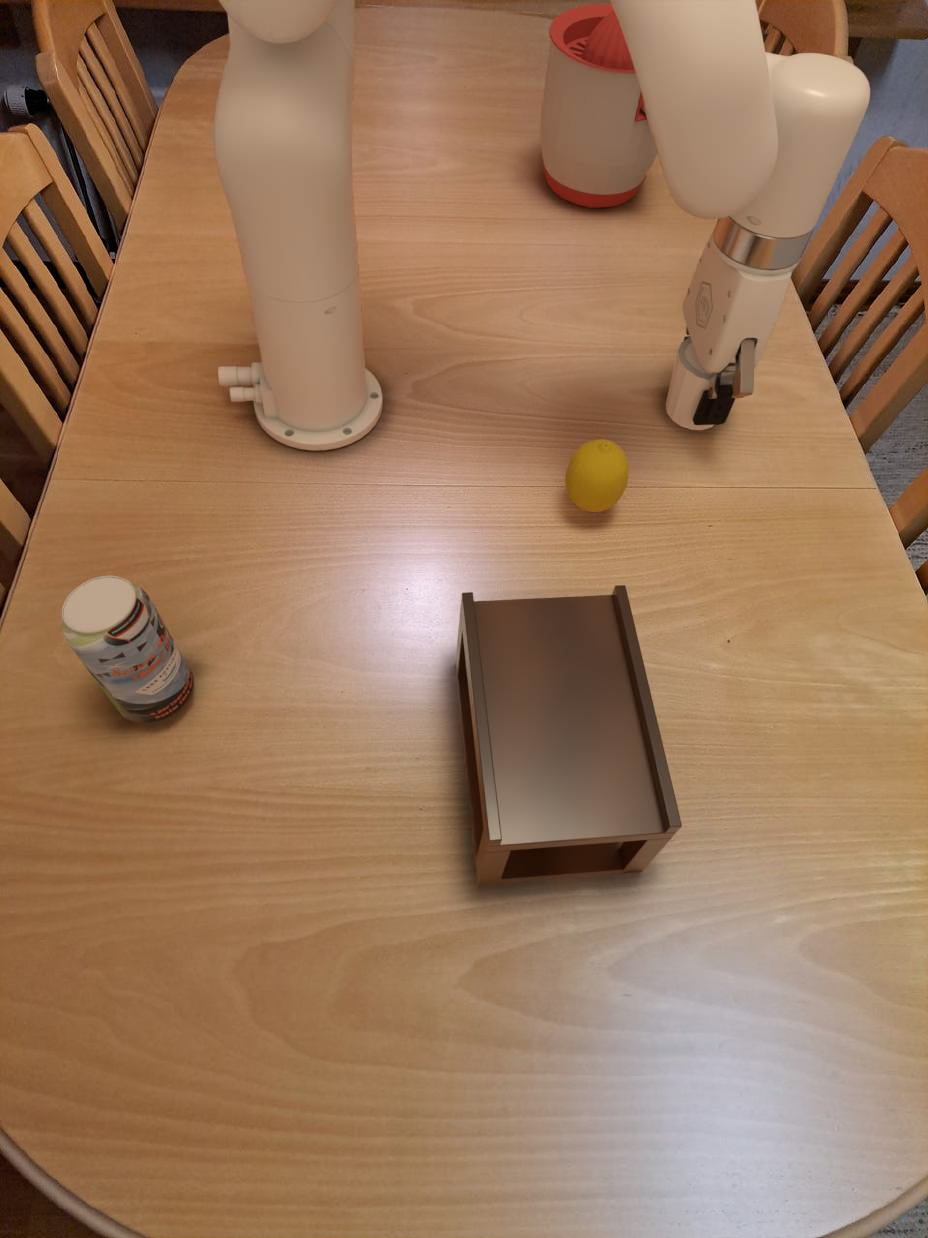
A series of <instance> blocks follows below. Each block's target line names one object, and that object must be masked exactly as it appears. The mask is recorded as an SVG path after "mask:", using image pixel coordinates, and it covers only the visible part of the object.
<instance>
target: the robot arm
mask: <svg viewBox="0 0 928 1238" xmlns="http://www.w3.org/2000/svg"><path fill="white" fill-rule="evenodd" d="M218 2H219V4H220V5H221V7H222V8H223V9H224V11H225V13H226V16H227V24H228V39H229V47H228V48H229V49H228V54H227V58H226V63H225V65H224V67H223V71H222V75H221V81H220V85H219V89H218V94H217V98H216V103H215V110H214V117H213V118H214V119H213V151H214V158H215V164H216V168H217V172H218V176H219V179H220V183H221V186H222V190H223V192H224V196H225V198H226V201H227V204H228V207H229V212H230V215H231V218H232V221H233V222H232V223H233V225H234V230H235V235H236V237H237V238H236V239H237V244H238V248H239V255H240V259H241V265H242V269H243V273H244V276H245V281H246V285H247V286H246V287H247V292H248V297H249V298H248V299H249V303H250V307H251V313H252V317H253V323H254V329H255V333H256V339H257V343H258V350H259V354H260V362H259V361H258V362H251V366H238V365H222V366H221V365H220V366H218V367H217V368H218V369H217V376H218V384H219V387H220V388H226V387H227V388H228V387H229V397H230V401H231V403H239V402H240V403H241V402H242V403H243V402H244V403H245V402H252V401H253V407H254V413H255V416H256V420H257V422H258V424H259V425H260V427H261V429H262V430H264V432H266V434H267V435H268V436H270V438H272V439H274V440H275V441H277V442H278V443H281V444H283V445H285V446H288V447H291V448H294V449H298V450H305V451H328V450H334V449H335V450H336V449H340V448H343V447H346V446H348V445H351V444H353V443H355V442H357V441H359V440H361V439H362V438H363V437H365V436H366V435H367V434H369V433H370V432H371V431H372V429H373V428H374V427H375V426H376V425H377V424H378V422H379V420H380V418H381V415H382V412H383V400H384V399H383V391H382V388H381V385H380V383H379V381H378V379H377V378H376V377H375V375H374V373H372V371H370V370H369V369H368V368H367V367H366V360H365V343H364V342H365V341H364V327H363V310H362V293H361V276H360V274H361V273H360V264H359V249H358V248H359V247H358V234H357V233H358V232H357V222H356V220H357V219H356V209H355V208H356V207H355V198H354V197H355V196H354V184H353V183H354V182H353V179H354V178H353V125H354V123H353V122H354V93H355V92H354V91H355V90H354V89H355V71H356V70H355V67H356V66H355V65H356V64H355V61H356V60H355V59H356V58H355V51H356V50H355V30H356V29H355V28H356V27H355V25H356V24H355V22H356V19H355V18H356V14H355V13H356V0H218ZM609 2H610V4H612V7H613V9H614V11H615V14H616V16H617V19H618V21H619V24H620V26H621V29H622V32H623V34H624V37H625V40H626V43H627V46H628V49H629V52H630V55H631V58H632V62H633V65H634V68H635V72H636V75H637V78H638V82H639V85H640V88H641V92H642V95H643V99H644V102H645V111H646V117H647V120H648V124H649V127H650V131H651V134H652V138H653V141H654V145H655V147H656V150H657V155H658V159H659V162H660V167H661V169H662V173H663V177H664V181H665V185H666V188H667V190H668V193H669V195H670V197H671V198H672V199H673V201H674V202H675V203H676V205H677V206H678V207H679V208H681V210H683V211H684V212H686V213H688V214H690V215H692V216H693V217H697V218H700V219H703V220H717V222H716V224H715V227H714V228H713V230H712V232H711V234H710V236H709V238H708V240H707V242H706V244H705V247H704V249H703V250H702V253H701V255H700V258H699V260H698V262H697V265H696V268H695V270H694V274H693V275H692V277H691V280H690V283H689V286H688V289H687V292H686V294H685V297H684V300H683V303H682V314H683V319H684V322H685V326H686V327H685V332H686V336H684V338H683V341H684V340H686V339H687V338H688V337H691V340H692V343H693V346H694V349H695V351H696V354H697V357H698V359H699V362H700V364H701V366H702V367H703V369H704V370H705V371H706V372H708V373H711V377H710V383H709V390H705V391H703V394H702V396H701V399H700V402H699V404H698V407H697V409H696V412H695V414H694V417H693V422H694V425H714V426H717V425H718V426H719V425H720V426H721V425H723V424H725V423H726V422H727V419H728V417H729V415H730V413H731V410H732V408H733V406H734V403H735V401H736V399H742V398H745V397H750V396H752V395H753V393H754V387H755V385H754V384H755V370H756V367H757V366H758V364H759V363H760V361H761V359H762V358H763V355H764V353H765V351H766V348H767V347H768V344H769V342H770V340H771V338H772V335H773V333H774V329H775V327H776V325H777V322H778V320H779V319H778V318H779V316H780V315H781V310H782V307H783V304H784V301H785V299H786V295H787V291H788V289H789V285H790V281H791V277H792V273H793V272H792V270H795V268H796V267H797V266H798V265H799V264H800V262H801V259H802V257H803V254H804V252H805V250H806V248H807V245H808V243H809V241H810V239H811V237H812V234H813V233H814V231H815V228H816V225H817V223H818V221H819V219H820V216H821V215H822V212H823V210H824V207H825V205H826V203H827V201H828V199H829V196H830V194H831V192H832V190H833V188H834V185H835V183H836V180H837V179H838V176H839V174H840V172H841V169H842V167H843V165H844V163H845V160H846V158H847V156H848V154H849V151H850V149H851V147H852V145H853V142H854V140H855V138H856V136H857V133H858V131H859V129H860V126H861V124H862V122H863V120H864V117H865V115H866V113H867V110H868V107H869V104H870V100H871V99H870V98H871V86H870V82H869V80H868V78H867V76H866V74H865V73H864V72H863V71H862V70H861V69H860V68H859V67H858V66H856V65H854V64H853V63H851V62H850V61H847V60H845V59H842V58H840V57H837V56H834V55H830V54H824V53H819V52H818V53H817V52H802V53H796V54H792V55H782V54H777V53H772V52H767V51H766V48H765V43H764V37H763V32H762V27H761V22H760V17H759V12H758V11H759V10H758V6H757V2H756V0H609ZM734 357H735V362H731V361H732V360H733V358H734ZM722 372H734V375H733V381H732V383H731V384H726V385H720V380H721V374H722ZM244 386H252V387H244Z"/></svg>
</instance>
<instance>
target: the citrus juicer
mask: <svg viewBox="0 0 928 1238" xmlns="http://www.w3.org/2000/svg"><path fill="white" fill-rule="evenodd" d="M548 35H549V38H550V41H549V47H548V48H549V49H548V56H547V64H546V71H545V77H544V89H543V95H542V101H541V112H540V126H539V127H540V146H541V154H542V167H543V172H544V175H545V179H546V182H547V185H548V186H549V188H550V189H551V191H553V192H554V193H555V194H556V195H557V196H559V197H560V198H562V199H563V200H565V201H567V202H570V203H572V204H575V205H579V206H583V207H585V208H587V209H595V208H610V207H615V206H616V207H617V206H619V205H621V204H625V203H626V202H627V201H629V200H630V199H632V198H633V197H634V195H635V194H636V193H637V192H638V190H639V189H640V187H641V186H642V185H643V183H644V181H645V179H646V177H647V174H648V172H649V171H650V169H651V168H652V166H653V164H654V161H655V159H656V157H657V155H658V153H657V150H656V147H655V145H654V141H653V138H652V134H651V131H650V127H649V124H648V120H647V117H646V111H645V102H644V99H643V95H642V92H641V88H640V85H639V82H638V78H637V75H636V72H635V68H634V65H633V62H632V58H631V55H630V52H629V49H628V46H627V43H626V40H625V37H624V34H623V32H622V29H621V26H620V24H619V21H618V19H617V16H616V14H615V11H614V9H613V7H612V4H611V3H594V4H586V5H580V6H576V7H572V8H570V9H567V10H565V11H562V12H561V13H560V14H557V16H556V17H554V19H553V20H552V22H551V23H550V26H549V29H548Z"/></svg>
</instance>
